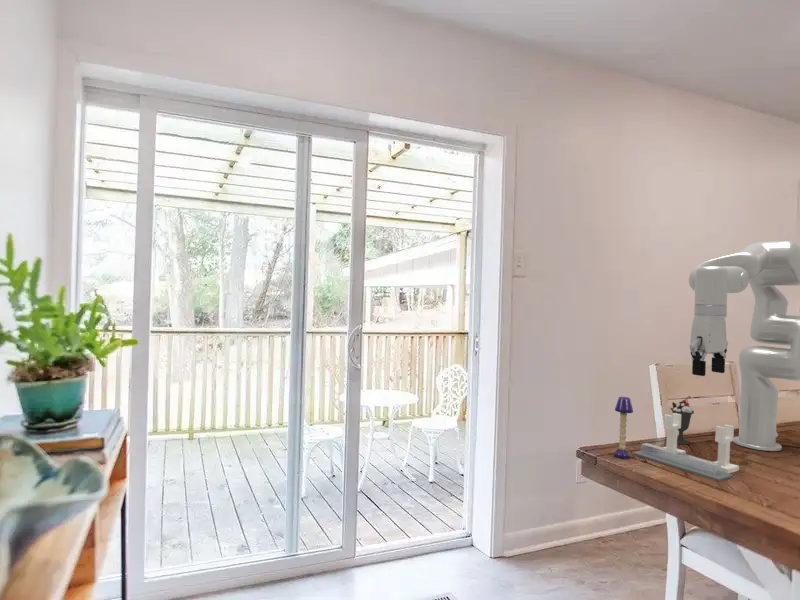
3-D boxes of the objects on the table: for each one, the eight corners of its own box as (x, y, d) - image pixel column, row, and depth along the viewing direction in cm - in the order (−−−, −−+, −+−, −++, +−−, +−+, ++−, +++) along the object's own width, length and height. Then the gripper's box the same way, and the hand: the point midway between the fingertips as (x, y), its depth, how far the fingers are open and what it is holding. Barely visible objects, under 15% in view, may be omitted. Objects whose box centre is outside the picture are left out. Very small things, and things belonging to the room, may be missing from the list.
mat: (647, 451, 146) (647, 449, 146) (733, 477, 127) (733, 474, 127) (633, 454, 143) (633, 452, 143) (719, 481, 123) (719, 479, 123)
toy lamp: (609, 453, 143) (612, 395, 143) (625, 453, 143) (627, 395, 143) (618, 458, 138) (621, 398, 138) (634, 459, 138) (637, 399, 138)
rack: (668, 450, 149) (670, 411, 148) (738, 470, 132) (740, 427, 132) (656, 452, 145) (658, 413, 145) (727, 473, 129) (729, 429, 129)
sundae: (696, 446, 154) (698, 397, 154) (672, 443, 156) (674, 396, 156) (688, 440, 161) (690, 394, 161) (665, 438, 162) (668, 392, 162)
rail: (646, 451, 144) (646, 442, 144) (720, 474, 127) (721, 464, 127) (641, 452, 143) (641, 444, 143) (715, 475, 126) (716, 465, 126)
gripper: (712, 310, 143) (711, 369, 144) (678, 311, 135) (676, 374, 135) (741, 311, 137) (739, 373, 138) (707, 312, 128) (705, 378, 129)
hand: (708, 373), depth 136 cm, fingers open, 9 cm apart
